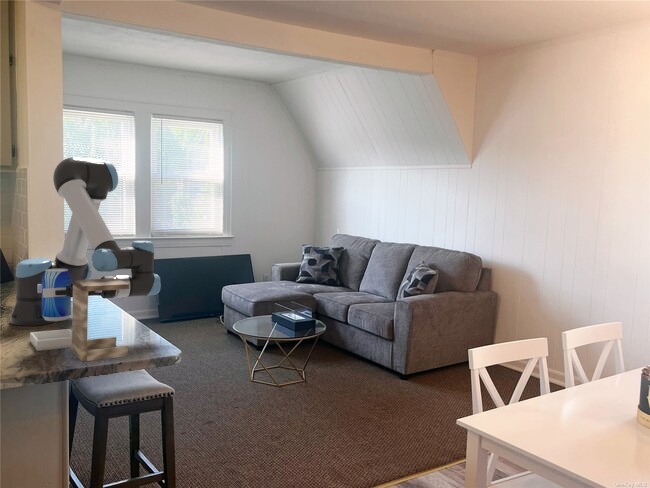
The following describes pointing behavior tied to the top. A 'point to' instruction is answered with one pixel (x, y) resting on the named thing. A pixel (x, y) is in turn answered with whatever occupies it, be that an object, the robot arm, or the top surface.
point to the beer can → (56, 305)
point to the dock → (81, 319)
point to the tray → (51, 339)
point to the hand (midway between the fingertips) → (40, 290)
